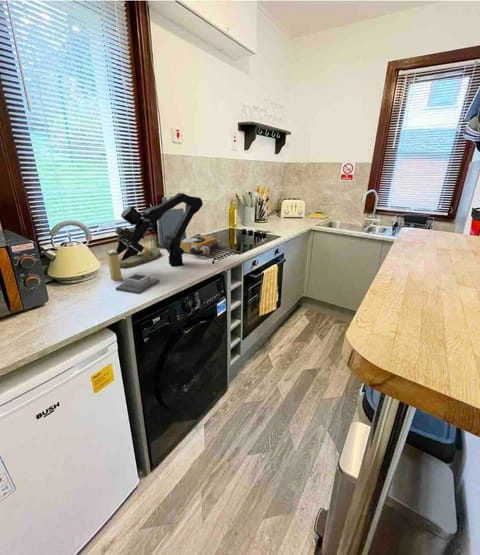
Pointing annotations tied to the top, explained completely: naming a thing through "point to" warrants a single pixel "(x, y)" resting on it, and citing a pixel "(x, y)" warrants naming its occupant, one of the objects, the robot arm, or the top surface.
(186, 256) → the top surface
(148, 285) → the grey stepped base
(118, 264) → the tan upright block
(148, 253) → the sandal
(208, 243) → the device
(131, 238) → the robot arm
